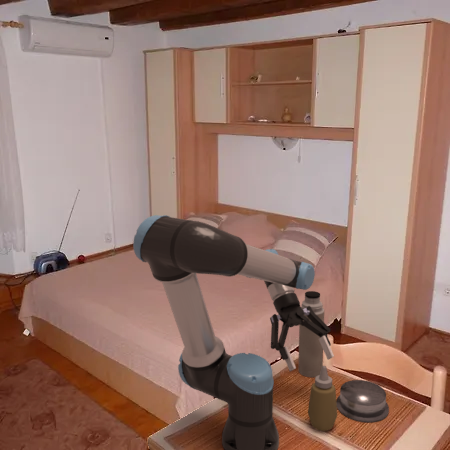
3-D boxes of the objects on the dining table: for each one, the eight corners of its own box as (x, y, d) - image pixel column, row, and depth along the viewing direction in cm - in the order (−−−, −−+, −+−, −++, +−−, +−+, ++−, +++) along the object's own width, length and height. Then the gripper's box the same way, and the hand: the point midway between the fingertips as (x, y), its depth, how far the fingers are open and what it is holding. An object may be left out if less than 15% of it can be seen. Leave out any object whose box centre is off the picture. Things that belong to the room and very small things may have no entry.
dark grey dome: (340, 422, 138) (341, 406, 137) (332, 392, 153) (333, 377, 152) (395, 423, 138) (396, 407, 136) (381, 393, 152) (382, 378, 151)
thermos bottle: (299, 364, 170) (301, 287, 164) (322, 366, 168) (325, 289, 162) (297, 375, 163) (299, 296, 156) (321, 378, 161) (324, 298, 154)
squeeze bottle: (337, 435, 133) (339, 376, 129) (306, 432, 134) (308, 373, 130) (336, 417, 140) (339, 360, 136) (308, 414, 142) (309, 358, 138)
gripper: (311, 294, 158) (339, 357, 149) (244, 309, 147) (270, 378, 138) (322, 284, 153) (352, 349, 143) (253, 299, 141) (281, 370, 132)
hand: (312, 363), depth 141 cm, fingers open, 13 cm apart
